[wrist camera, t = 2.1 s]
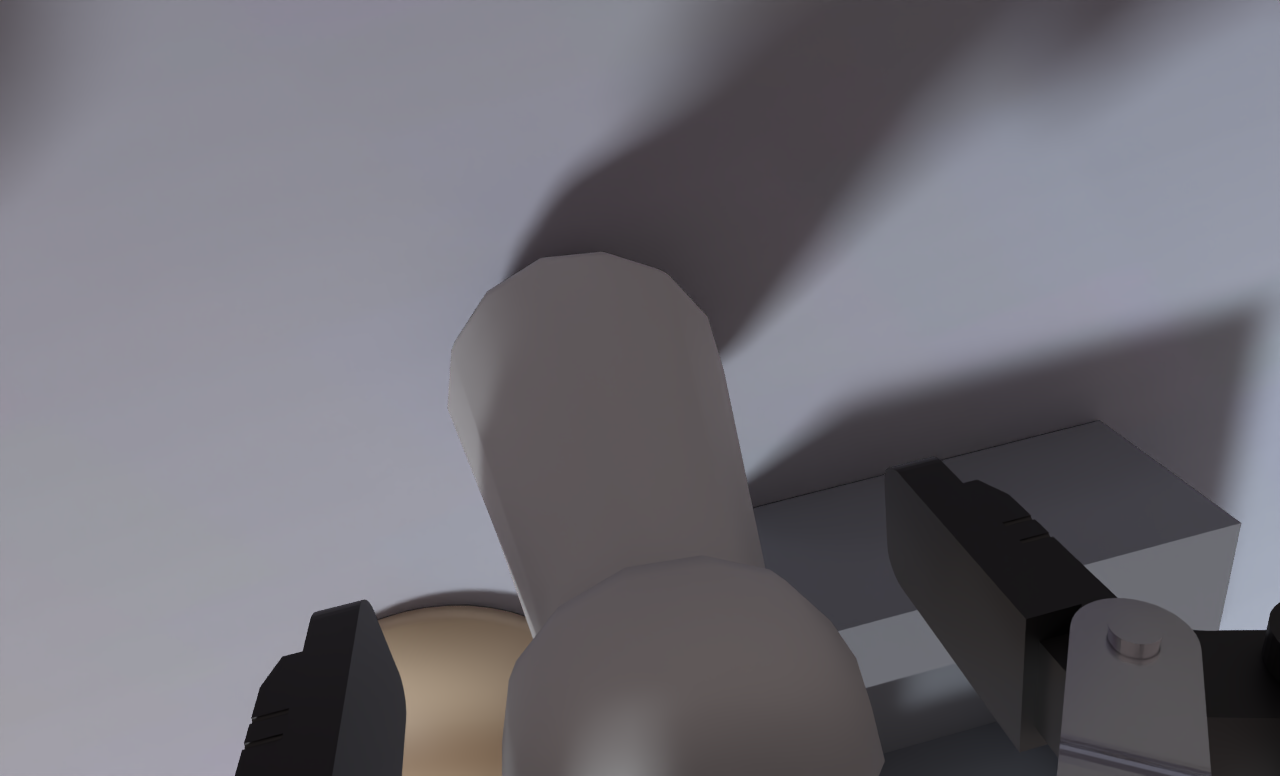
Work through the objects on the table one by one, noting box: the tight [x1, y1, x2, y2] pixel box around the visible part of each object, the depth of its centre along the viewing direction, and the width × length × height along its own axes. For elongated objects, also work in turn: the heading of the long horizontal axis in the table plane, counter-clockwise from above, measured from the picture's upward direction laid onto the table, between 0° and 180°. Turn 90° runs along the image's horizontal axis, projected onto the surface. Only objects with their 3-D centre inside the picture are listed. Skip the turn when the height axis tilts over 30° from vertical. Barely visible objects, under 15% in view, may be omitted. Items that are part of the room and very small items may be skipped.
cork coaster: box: [378, 606, 533, 776], centre depth 25 cm, size 9×9×1 cm
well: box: [753, 421, 1241, 776], centre depth 24 cm, size 12×12×5 cm
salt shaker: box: [448, 252, 885, 776], centre depth 15 cm, size 6×6×13 cm
